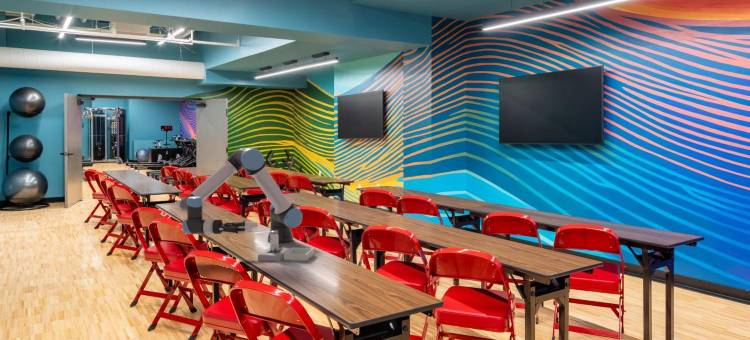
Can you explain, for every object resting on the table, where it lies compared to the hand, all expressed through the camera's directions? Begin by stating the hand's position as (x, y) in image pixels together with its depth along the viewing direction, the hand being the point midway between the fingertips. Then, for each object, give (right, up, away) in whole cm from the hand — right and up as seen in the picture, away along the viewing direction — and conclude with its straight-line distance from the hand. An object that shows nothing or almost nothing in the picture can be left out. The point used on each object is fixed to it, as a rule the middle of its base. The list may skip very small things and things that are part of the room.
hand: (254, 226), depth 257 cm
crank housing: (+10, -16, +2) cm, 19 cm away
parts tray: (+24, -16, -1) cm, 29 cm away
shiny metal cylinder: (+10, -16, +2) cm, 19 cm away
